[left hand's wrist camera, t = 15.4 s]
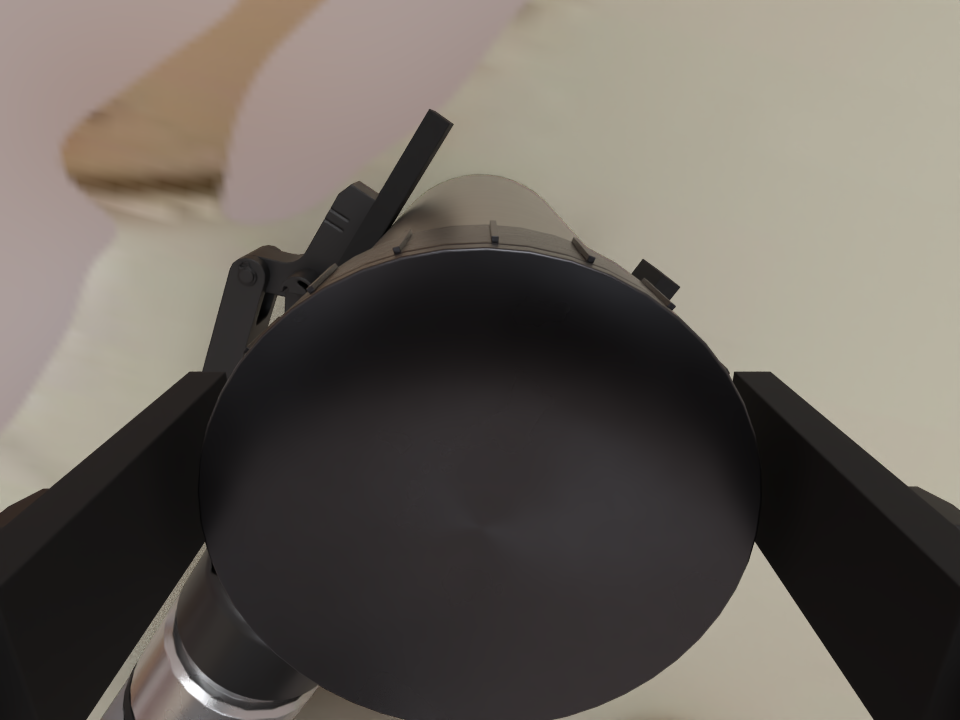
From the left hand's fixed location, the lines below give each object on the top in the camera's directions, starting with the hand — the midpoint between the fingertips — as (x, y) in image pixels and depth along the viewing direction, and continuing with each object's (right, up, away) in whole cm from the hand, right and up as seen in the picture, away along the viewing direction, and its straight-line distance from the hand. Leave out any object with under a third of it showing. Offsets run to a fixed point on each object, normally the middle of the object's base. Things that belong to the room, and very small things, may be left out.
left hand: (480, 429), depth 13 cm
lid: (0, -1, -3) cm, 3 cm away
